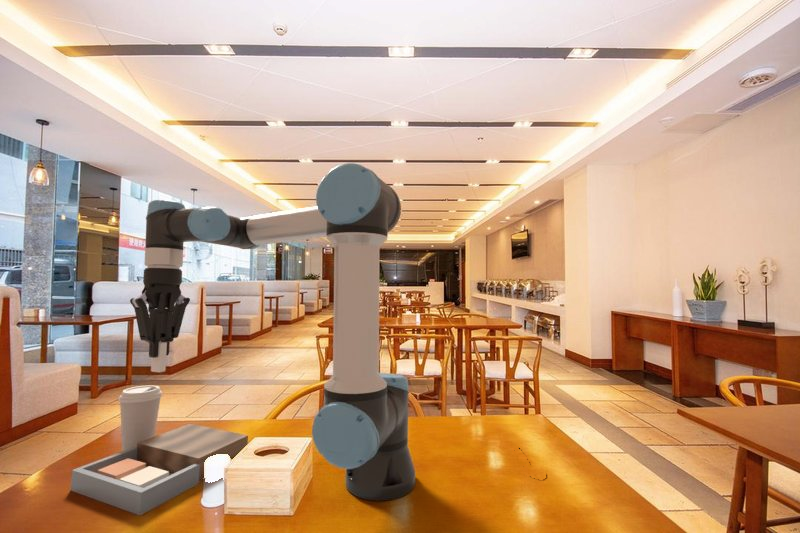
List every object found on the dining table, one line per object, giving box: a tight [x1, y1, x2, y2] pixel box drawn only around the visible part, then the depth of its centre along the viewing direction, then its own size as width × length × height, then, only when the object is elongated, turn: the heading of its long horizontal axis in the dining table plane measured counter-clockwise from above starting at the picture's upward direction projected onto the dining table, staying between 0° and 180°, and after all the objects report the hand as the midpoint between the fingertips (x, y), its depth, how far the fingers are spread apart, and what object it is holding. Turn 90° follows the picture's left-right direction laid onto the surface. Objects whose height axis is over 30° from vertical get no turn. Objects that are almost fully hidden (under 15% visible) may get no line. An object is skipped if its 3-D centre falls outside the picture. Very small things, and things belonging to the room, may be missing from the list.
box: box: [70, 447, 200, 516], centre depth 77 cm, size 21×12×4 cm, turn 68°
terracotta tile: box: [97, 458, 146, 480], centre depth 78 cm, size 6×6×3 cm
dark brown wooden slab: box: [137, 423, 249, 483], centre depth 89 cm, size 20×14×5 cm
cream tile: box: [119, 466, 169, 488], centre depth 75 cm, size 6×6×3 cm
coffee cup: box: [117, 384, 164, 452], centre depth 96 cm, size 10×10×15 cm
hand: (158, 371), depth 84 cm, fingers closed
